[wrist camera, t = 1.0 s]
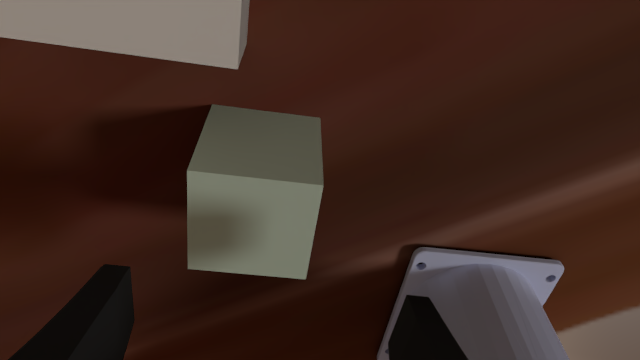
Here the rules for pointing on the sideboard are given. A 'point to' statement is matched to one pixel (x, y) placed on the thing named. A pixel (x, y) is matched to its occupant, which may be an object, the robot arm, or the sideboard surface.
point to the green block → (254, 193)
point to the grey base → (135, 27)
